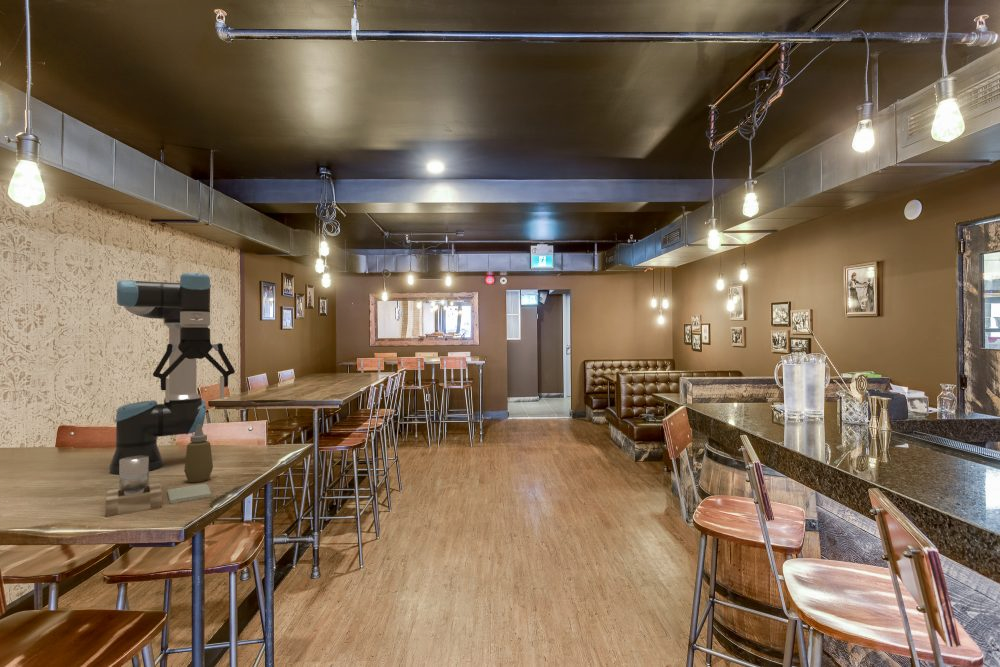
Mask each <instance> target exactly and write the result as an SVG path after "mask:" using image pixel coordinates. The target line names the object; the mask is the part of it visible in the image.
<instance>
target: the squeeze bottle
mask: <svg viewBox="0 0 1000 667" xmlns="http://www.w3.org/2000/svg"><path fill="white" fill-rule="evenodd" d="M193 434H194V435H191V436H190V442H189V443H188V444H187V445H186V454H185V462H184V469H183V472H184V474H185V476H186V480H187V482H189V483H199V482H198V481H201V482H205V481H208V480H210V477H211V474H212V471H213V469H214V464H213V456H212V448H211V447H212V446H211V442H210V441H209V440H208V434H204V431H203V427H201V424H198V425H197V426H196V430H195V433H193ZM207 479H208V480H207ZM204 480H205V481H204Z"/></svg>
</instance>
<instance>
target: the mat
mask: <svg viewBox="0 0 1000 667" xmlns="http://www.w3.org/2000/svg"><path fill="white" fill-rule="evenodd" d="M166 493H167V496H168V502H169V504H170V503H171V504H177V503H181V501H183V502H188V500H189V501H194V500H193V499H195V500H199V499H198V498H201V499H205V498H204V497H207V498H210V497H209V496H211V497H212V492H211V490H210V489H209V487H208V485H207V483H203V484H196V485H188V486H182V487H176V488H170V489H167V492H166ZM176 502H177V503H176Z"/></svg>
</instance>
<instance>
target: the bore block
mask: <svg viewBox="0 0 1000 667" xmlns="http://www.w3.org/2000/svg"><path fill="white" fill-rule="evenodd" d="M160 483H161V482H160V481H159V482H158V481H157V482H151V483H149V486H148V487H146V488H144V493H140V494H133V495H127V496H124V491H120V490H119V487H118V488H110V489H107V490H106V497H105V517H111V516H118V515H122V514H129V513H137V512H141V510H142V511H147V510H153V508H154V509H159V507H160V508H162V504H163V503H162V501H163V499H162V496H163V495H162V494H163V493H162V488H161V484H160Z"/></svg>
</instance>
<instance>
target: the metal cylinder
mask: <svg viewBox="0 0 1000 667" xmlns="http://www.w3.org/2000/svg"><path fill="white" fill-rule="evenodd" d="M149 473H150V472H149V456H132V457H126V458H122V459H120V460H119V474H118V475H119V476H118V477H119V478H118V479H119V482H118V483H119V484H118V485H119V487H118V488H119V490H120V491H124V496H127V495H133V494H140V493H144V488H146V487H148V486H149V484H150V482H149V480H150V479H149V478H150V476H149Z"/></svg>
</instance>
